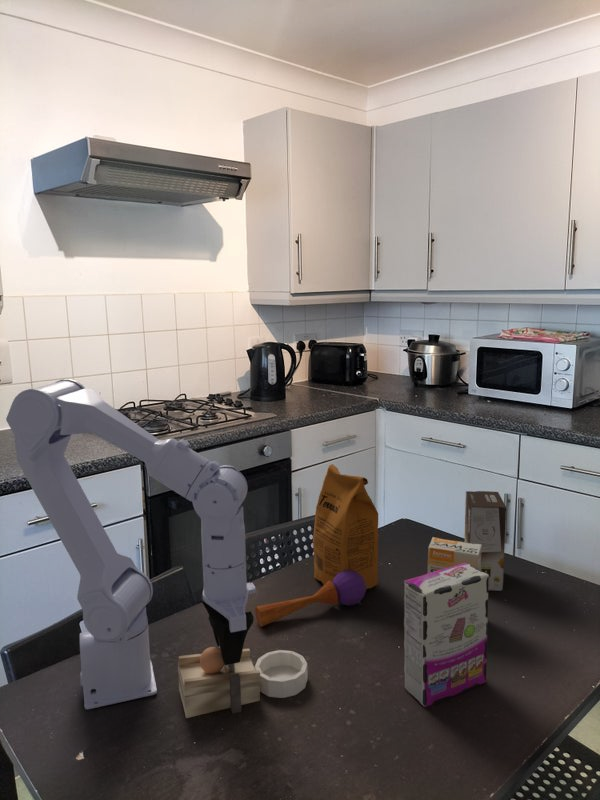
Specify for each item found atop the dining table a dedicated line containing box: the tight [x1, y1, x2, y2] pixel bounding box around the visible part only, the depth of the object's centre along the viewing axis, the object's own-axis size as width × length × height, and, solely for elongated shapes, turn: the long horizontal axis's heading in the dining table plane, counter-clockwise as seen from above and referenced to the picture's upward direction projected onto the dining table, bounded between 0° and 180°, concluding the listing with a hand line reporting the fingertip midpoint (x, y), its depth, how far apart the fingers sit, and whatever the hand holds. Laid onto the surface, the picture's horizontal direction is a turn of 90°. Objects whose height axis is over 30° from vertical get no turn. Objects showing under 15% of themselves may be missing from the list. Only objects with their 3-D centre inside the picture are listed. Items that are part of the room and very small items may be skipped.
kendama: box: [254, 570, 367, 628], centre depth 106 cm, size 6×6×20 cm
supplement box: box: [426, 536, 482, 574], centre depth 102 cm, size 8×5×13 cm, turn 68°
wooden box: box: [177, 645, 261, 719], centre depth 84 cm, size 10×9×5 cm
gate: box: [225, 664, 235, 674], centre depth 84 cm, size 2×4×5 cm, turn 19°
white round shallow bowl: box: [254, 649, 308, 699], centre depth 88 cm, size 7×7×2 cm
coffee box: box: [463, 490, 507, 592], centre depth 116 cm, size 9×6×16 cm
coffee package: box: [312, 464, 379, 590], centre depth 115 cm, size 10×12×22 cm
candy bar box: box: [403, 563, 489, 708], centre depth 85 cm, size 11×5×16 cm, turn 117°
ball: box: [200, 646, 224, 674], centre depth 84 cm, size 3×3×3 cm
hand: (228, 652), depth 84 cm, fingers closed on gate, 4 cm apart
